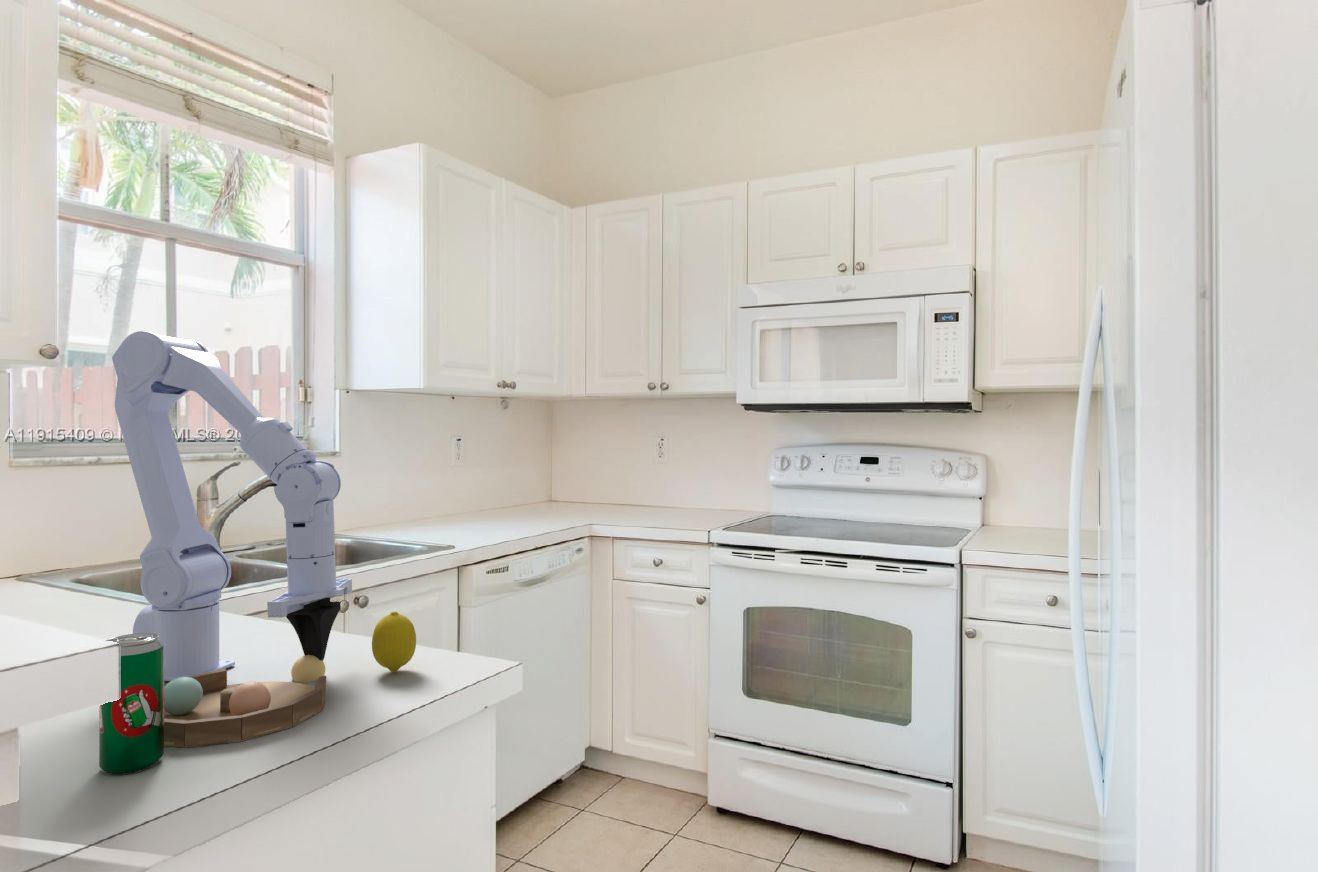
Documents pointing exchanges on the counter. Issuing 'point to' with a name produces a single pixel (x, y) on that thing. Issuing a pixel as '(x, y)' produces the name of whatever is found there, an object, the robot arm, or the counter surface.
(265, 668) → the counter surface
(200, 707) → the groove tray
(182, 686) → the bead teal
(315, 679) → the pale yellow ball
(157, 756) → the soda can
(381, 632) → the lemon
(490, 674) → the counter surface
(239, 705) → the bead terracotta
